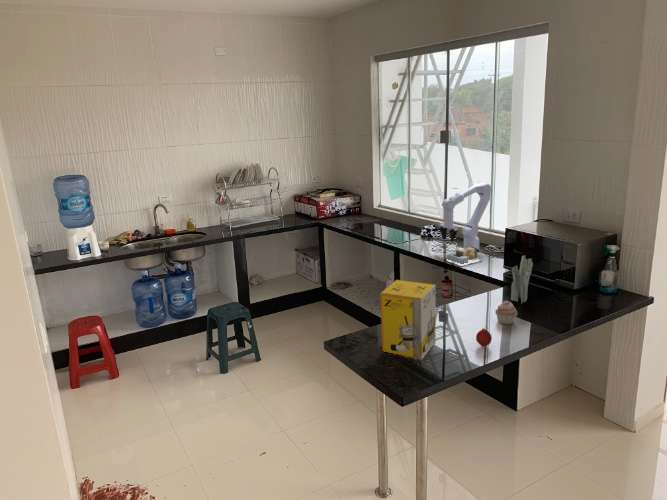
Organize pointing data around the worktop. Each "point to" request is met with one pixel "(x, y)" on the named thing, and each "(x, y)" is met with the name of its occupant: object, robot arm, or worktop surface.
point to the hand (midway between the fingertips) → (448, 239)
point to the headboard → (459, 258)
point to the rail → (467, 253)
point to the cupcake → (506, 313)
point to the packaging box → (408, 318)
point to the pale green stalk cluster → (521, 280)
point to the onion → (483, 337)
